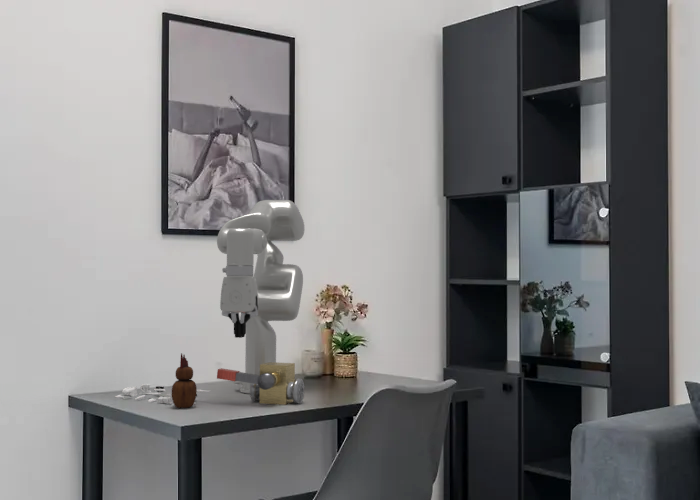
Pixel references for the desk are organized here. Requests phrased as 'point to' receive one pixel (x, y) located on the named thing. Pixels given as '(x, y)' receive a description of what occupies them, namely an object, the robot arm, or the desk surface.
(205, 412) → the desk surface
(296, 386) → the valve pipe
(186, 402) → the wooden figurine
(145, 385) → the miniature set
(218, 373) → the lever
